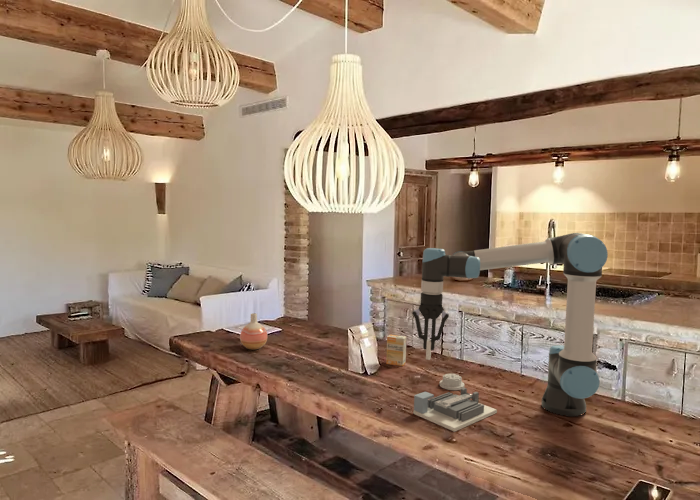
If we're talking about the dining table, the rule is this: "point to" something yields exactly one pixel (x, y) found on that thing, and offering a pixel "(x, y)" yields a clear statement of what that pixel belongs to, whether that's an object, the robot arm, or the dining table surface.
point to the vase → (253, 334)
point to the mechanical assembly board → (456, 411)
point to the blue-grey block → (422, 402)
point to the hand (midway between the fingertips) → (428, 358)
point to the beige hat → (452, 382)
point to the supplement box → (396, 350)
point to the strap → (454, 400)
